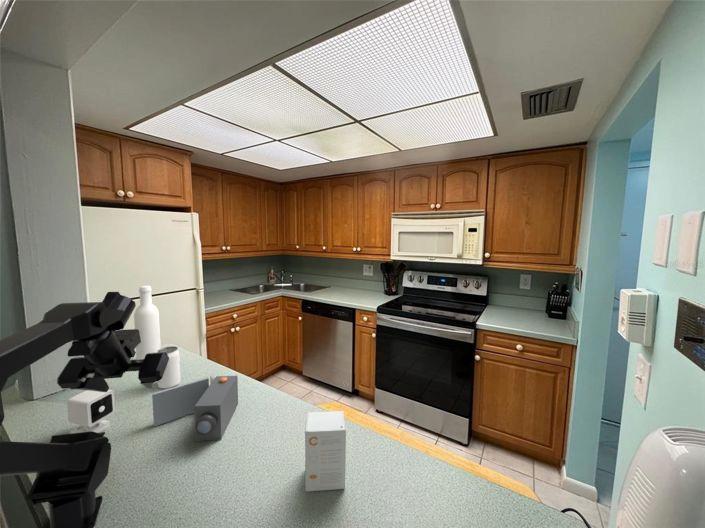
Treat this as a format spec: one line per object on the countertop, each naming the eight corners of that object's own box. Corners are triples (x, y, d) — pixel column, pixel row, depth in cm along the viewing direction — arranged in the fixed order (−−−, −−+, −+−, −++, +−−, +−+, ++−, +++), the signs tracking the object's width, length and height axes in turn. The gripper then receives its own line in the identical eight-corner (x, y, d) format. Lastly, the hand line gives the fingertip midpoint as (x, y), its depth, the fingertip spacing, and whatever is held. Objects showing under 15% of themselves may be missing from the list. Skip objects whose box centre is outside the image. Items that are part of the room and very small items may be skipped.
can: (159, 381, 96) (158, 347, 95) (181, 377, 99) (180, 344, 98) (155, 391, 90) (153, 355, 89) (179, 386, 93) (177, 351, 92)
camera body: (218, 446, 68) (216, 407, 67) (184, 448, 67) (182, 409, 66) (238, 403, 85) (237, 372, 84) (212, 404, 84) (211, 372, 83)
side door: (207, 403, 84) (206, 376, 83) (209, 406, 82) (208, 378, 82) (153, 423, 75) (151, 392, 74) (154, 426, 74) (152, 395, 73)
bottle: (159, 356, 115) (155, 283, 112) (164, 362, 110) (160, 286, 107) (134, 362, 109) (129, 286, 106) (138, 369, 104) (133, 289, 101)
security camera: (90, 442, 68) (86, 403, 67) (67, 437, 70) (63, 399, 68) (116, 425, 74) (114, 389, 73) (95, 421, 76) (92, 385, 75)
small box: (343, 464, 63) (344, 410, 62) (345, 490, 57) (346, 429, 56) (306, 466, 63) (307, 411, 61) (304, 492, 56) (304, 431, 55)
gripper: (167, 316, 65) (183, 355, 75) (71, 320, 61) (101, 360, 71) (149, 359, 57) (169, 397, 67) (36, 367, 53) (75, 405, 63)
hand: (130, 388), depth 67 cm, fingers open, 9 cm apart
